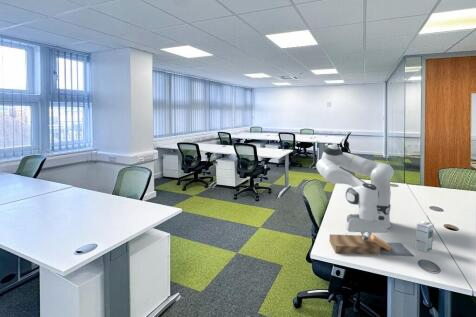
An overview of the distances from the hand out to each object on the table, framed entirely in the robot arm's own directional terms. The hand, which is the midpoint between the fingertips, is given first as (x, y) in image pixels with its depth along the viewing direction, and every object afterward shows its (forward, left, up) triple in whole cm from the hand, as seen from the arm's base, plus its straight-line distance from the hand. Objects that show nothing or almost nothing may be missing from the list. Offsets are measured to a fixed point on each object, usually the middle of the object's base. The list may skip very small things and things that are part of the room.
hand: (365, 239), depth 152 cm
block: (+4, +6, -2) cm, 8 cm away
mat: (+7, +12, -5) cm, 14 cm away
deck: (-3, -5, -5) cm, 8 cm away
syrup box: (+14, +27, -5) cm, 31 cm away
